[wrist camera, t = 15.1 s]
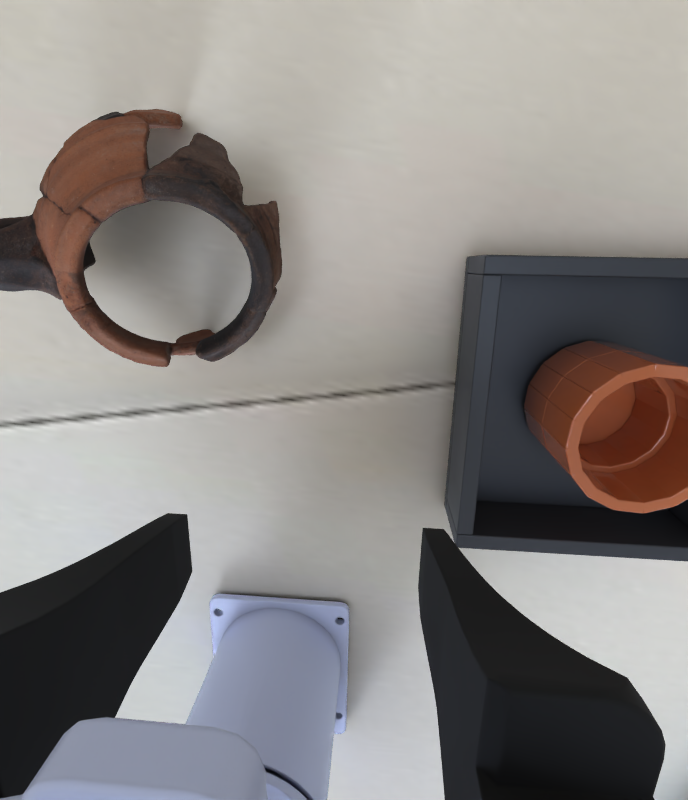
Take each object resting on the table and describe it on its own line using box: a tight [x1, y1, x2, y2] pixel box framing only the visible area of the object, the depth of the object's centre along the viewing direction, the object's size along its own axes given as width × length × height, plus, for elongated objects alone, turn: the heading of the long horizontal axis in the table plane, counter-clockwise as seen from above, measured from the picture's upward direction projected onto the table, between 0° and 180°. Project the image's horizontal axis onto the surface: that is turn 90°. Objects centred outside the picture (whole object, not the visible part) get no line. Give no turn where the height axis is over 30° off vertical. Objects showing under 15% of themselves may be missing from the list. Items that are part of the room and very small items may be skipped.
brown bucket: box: [524, 341, 688, 513], centre depth 19 cm, size 6×6×6 cm
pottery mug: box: [0, 109, 282, 367], centre depth 19 cm, size 12×10×8 cm
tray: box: [444, 255, 688, 561], centre depth 20 cm, size 12×11×4 cm
